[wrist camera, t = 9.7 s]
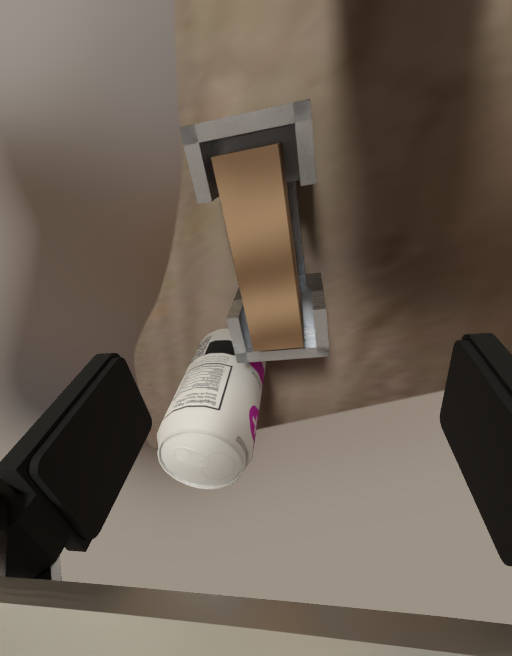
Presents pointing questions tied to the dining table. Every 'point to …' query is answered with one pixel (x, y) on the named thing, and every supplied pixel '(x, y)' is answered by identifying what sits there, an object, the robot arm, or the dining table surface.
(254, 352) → the bracket stand
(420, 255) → the dining table surface
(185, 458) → the supplement can
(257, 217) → the brown wooden block
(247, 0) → the dining table surface
